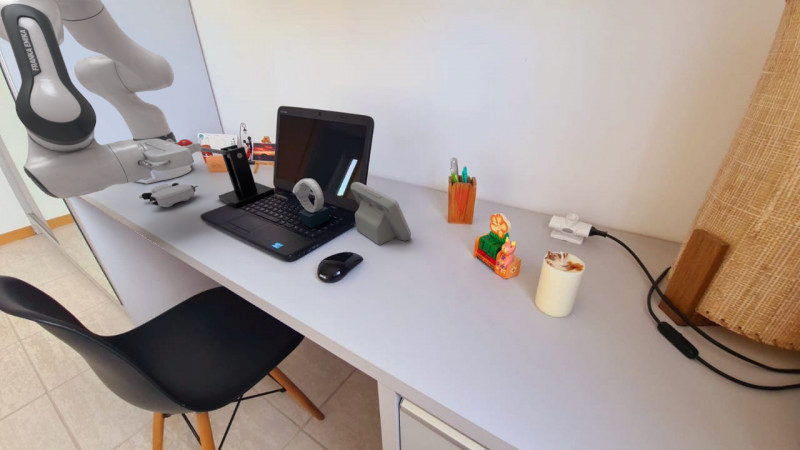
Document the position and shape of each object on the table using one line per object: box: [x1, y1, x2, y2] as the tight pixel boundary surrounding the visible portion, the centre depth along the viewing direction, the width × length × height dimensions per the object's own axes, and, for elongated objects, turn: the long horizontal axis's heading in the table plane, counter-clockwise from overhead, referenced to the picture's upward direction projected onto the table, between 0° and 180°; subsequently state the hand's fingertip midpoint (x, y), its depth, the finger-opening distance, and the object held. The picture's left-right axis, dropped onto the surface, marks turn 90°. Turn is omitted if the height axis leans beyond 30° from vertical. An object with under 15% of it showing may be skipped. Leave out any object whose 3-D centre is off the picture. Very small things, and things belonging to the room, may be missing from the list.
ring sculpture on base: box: [292, 177, 331, 229], centre depth 78 cm, size 6×8×11 cm
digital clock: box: [350, 181, 412, 246], centre depth 72 cm, size 16×9×11 cm, turn 27°
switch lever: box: [177, 138, 232, 158], centre depth 86 cm, size 15×4×4 cm, turn 141°
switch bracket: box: [218, 144, 276, 209], centre depth 93 cm, size 12×10×15 cm
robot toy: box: [138, 182, 200, 208], centre depth 96 cm, size 12×4×15 cm
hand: (196, 144), depth 83 cm, fingers closed on switch lever, 3 cm apart
